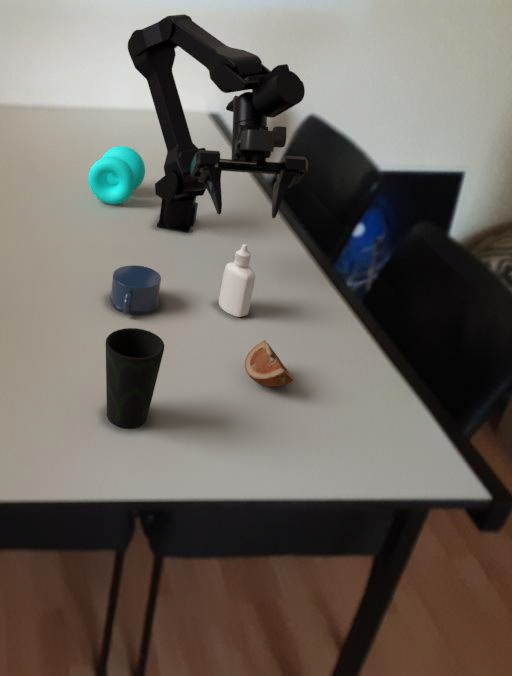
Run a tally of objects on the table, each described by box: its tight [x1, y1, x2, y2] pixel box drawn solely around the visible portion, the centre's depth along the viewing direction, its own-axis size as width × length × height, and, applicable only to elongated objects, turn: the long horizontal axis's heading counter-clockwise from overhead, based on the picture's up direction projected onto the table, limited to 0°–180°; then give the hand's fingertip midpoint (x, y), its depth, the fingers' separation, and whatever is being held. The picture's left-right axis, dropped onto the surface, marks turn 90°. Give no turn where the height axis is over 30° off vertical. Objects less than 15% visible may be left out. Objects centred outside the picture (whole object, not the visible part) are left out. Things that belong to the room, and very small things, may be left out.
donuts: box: [88, 145, 146, 205], centre depth 178 cm, size 10×10×10 cm
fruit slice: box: [244, 339, 294, 387], centre depth 124 cm, size 8×7×5 cm
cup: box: [105, 327, 165, 430], centre depth 114 cm, size 8×8×12 cm
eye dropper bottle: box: [218, 243, 256, 318], centre depth 139 cm, size 4×6×12 cm
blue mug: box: [109, 264, 162, 316], centre depth 142 cm, size 10×8×5 cm
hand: (246, 215), depth 142 cm, fingers open, 9 cm apart
